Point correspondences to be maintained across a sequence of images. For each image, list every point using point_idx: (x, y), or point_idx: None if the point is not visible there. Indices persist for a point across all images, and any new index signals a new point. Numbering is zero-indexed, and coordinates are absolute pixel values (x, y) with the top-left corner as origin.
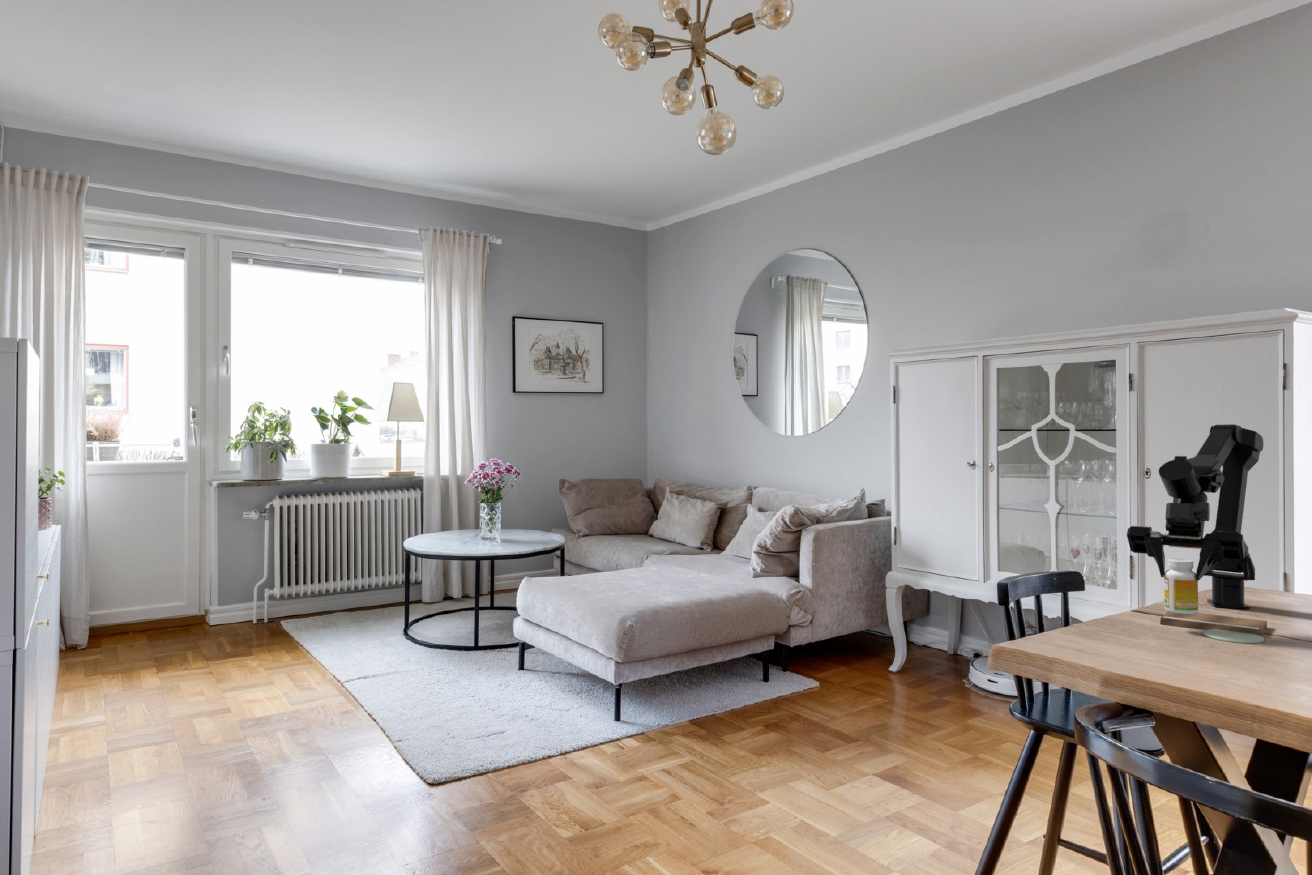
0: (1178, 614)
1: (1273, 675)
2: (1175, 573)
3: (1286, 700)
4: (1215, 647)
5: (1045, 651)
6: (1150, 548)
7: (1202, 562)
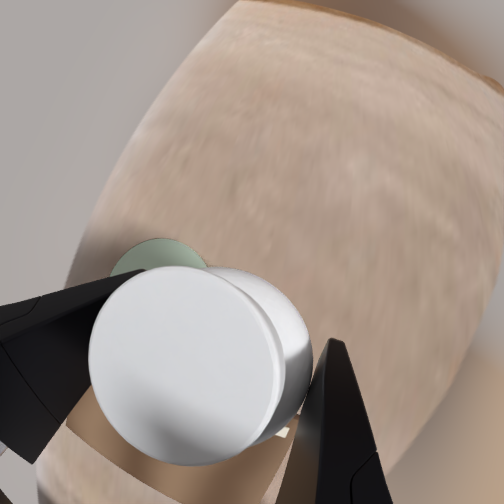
0: (234, 480)
1: (206, 61)
2: (256, 287)
3: (234, 13)
4: (229, 175)
5: (473, 85)
6: None
7: (55, 301)
